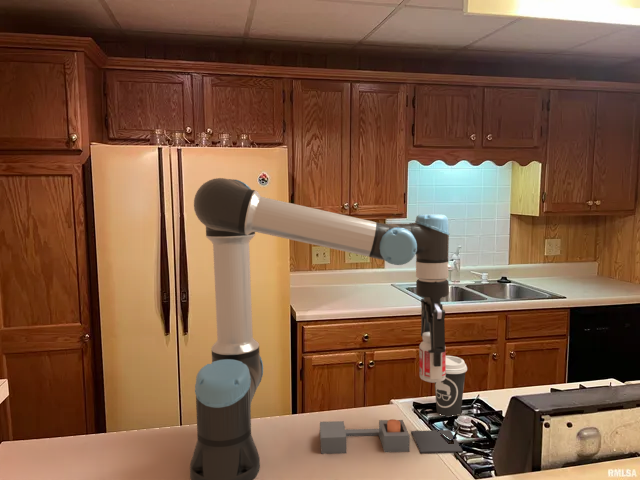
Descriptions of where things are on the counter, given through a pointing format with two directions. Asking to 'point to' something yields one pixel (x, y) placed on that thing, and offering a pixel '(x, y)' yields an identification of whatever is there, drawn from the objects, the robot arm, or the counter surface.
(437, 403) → the coffee cup
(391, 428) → the plunger
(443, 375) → the pill bottle
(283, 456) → the counter surface
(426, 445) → the mat
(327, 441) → the housing
